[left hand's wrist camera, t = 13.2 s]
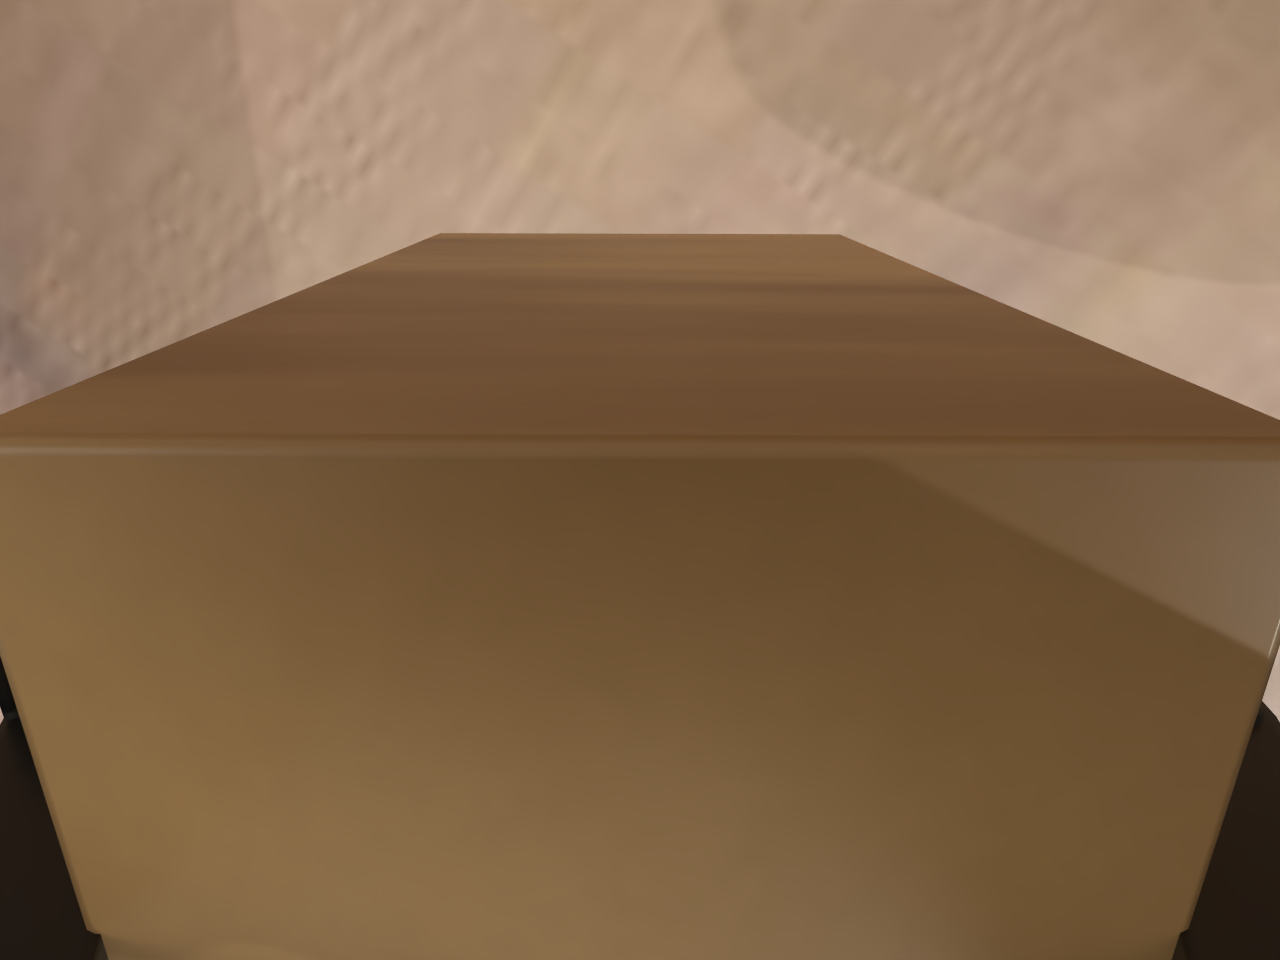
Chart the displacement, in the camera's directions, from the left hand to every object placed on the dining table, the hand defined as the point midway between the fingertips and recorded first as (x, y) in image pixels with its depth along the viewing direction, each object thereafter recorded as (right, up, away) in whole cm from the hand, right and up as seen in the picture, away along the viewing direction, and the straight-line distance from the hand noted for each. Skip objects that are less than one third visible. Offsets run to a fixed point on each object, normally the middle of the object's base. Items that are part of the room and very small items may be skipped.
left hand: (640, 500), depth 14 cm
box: (0, -7, +4) cm, 8 cm away
